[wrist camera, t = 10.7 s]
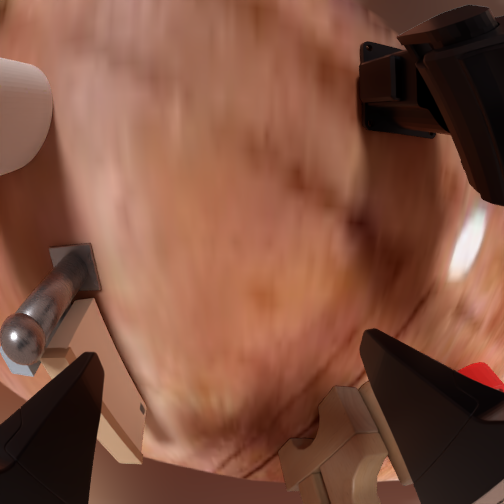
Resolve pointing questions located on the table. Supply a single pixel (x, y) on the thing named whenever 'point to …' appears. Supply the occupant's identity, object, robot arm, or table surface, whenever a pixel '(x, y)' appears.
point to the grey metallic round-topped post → (48, 303)
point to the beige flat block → (115, 381)
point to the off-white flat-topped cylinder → (22, 113)
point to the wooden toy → (343, 451)
